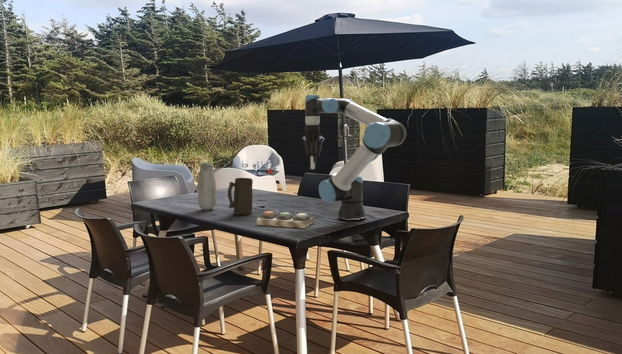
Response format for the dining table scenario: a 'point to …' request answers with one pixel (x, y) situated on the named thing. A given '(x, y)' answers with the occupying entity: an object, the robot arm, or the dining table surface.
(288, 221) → the button panel
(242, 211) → the beer stein
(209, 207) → the glass bottle
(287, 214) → the sage button
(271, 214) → the terracotta button
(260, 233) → the dining table surface
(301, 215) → the cream button
